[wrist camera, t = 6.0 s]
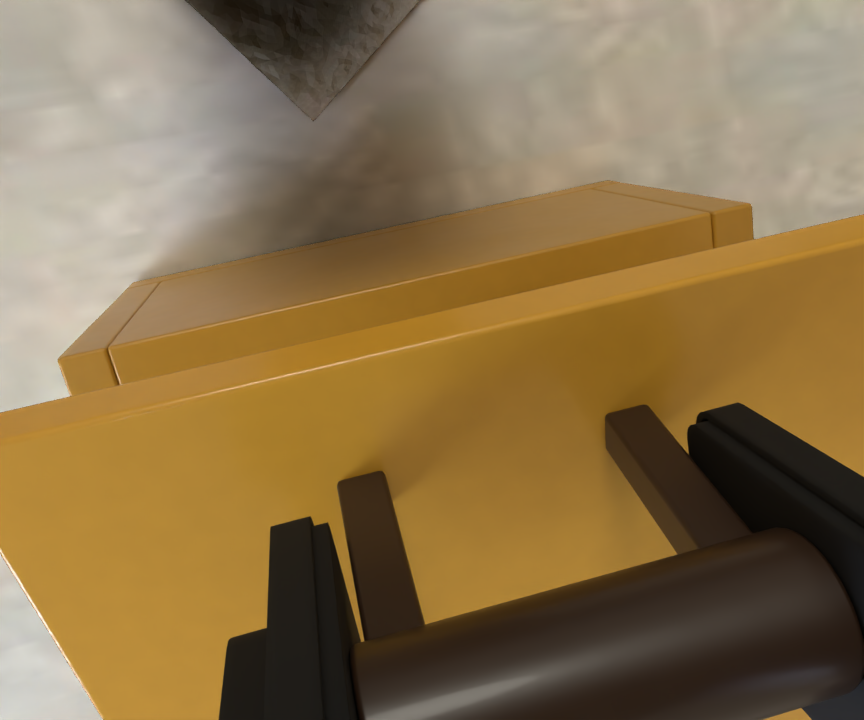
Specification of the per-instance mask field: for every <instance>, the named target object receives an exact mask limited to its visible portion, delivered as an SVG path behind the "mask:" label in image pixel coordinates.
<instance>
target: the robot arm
mask: <svg viewBox="0 0 864 720" xmlns="http://www.w3.org/2000/svg"><path fill="white" fill-rule="evenodd" d="M687 441H688V451H689V456H690V457H691V458H692V460H693V461H694V462H695V463H696V464H697V466H698V467H699V468H700V469H701V471H702V472H703V473H704V474H705V475H706V477H707V478H708V479H709V480H710V482H711V483H712V484H713V485H714V486H715V488H716V489H717V490H718V491H719V493H720V494H721V495H722V496H723V497H724V499H725V500H726V501H727V502H728V503H729V505H730V506H731V507H732V508H733V510H734V511H735V512H736V513H737V514H738V516H739V517H740V518H741V519H742V521H743V522H744V523H745V524H746V525H747V527H748V528H749V529H750V530H751V532H752V533H757V532H760V531H764V530H768V529H771V528H776V527H777V528H786V529H790V530H793V531H795V532H797V533H799V534H801V535H802V536H803V537H805V538H806V539H807V540H809V541H810V542H811V543H812V544H813V545H814V546H815V547H816V548H817V549H818V550H819V551H820V552H821V553H822V554H823V556H824V557H825V558H826V559H827V561H828V562H829V563H830V565H831V566H832V568H833V569H834V571H835V572H836V574H837V575H838V577H839V578H840V580H841V582H842V584H843V586H844V587H845V589H846V591H847V593H848V596H849V598H850V600H851V602H852V604H853V607H854V609H855V612H856V615H857V618H858V621H859V624H860V627H861V631H862V635H863V641H864V477H863V476H861V475H860V474H858V473H856V472H855V471H853V470H851V469H850V468H848V467H846V466H845V465H843V464H841V463H840V462H838V461H836V460H835V459H833V458H831V457H830V456H828V455H826V454H825V453H823V452H821V451H820V450H818V449H816V448H815V447H813V446H811V445H810V444H808V443H807V442H805V441H803V440H802V439H800V438H798V437H797V436H795V435H793V434H792V433H790V432H788V431H787V430H785V429H783V428H782V427H780V426H778V425H777V424H775V423H773V422H772V421H770V420H768V419H767V418H765V417H763V416H762V415H760V414H758V413H757V412H755V411H753V410H752V409H750V408H748V407H747V406H745V405H743V404H741V403H734V404H730V405H726V406H722V407H718V408H715V409H711V410H707V411H703V412H700V413H699V414H698V416H697V419H696V424H693V425H690V426H689V427H688V431H687ZM360 642H361V639H360V636H359V632H358V628H357V625H356V621H355V617H354V614H353V610H352V606H351V603H350V599H349V595H348V592H347V588H346V584H345V580H344V577H343V573H342V569H341V566H340V562H339V558H338V555H337V551H336V547H335V544H334V540H333V536H332V533H331V529H330V526H329V523H328V522H327V523H323V524H319V525H315V526H314V523H313V521H312V518H311V516H309V517H305V518H301V519H297V520H293V521H290V522H286V523H282V524H278V525H275V526H271V528H270V549H269V578H268V606H267V628H264V629H261V630H257V631H253V632H250V633H246V634H243V635H239V636H236V637H232V638H230V639H229V640H228V644H227V648H226V657H225V666H224V675H223V684H222V693H221V702H220V711H219V720H359V719H358V713H357V708H356V702H355V696H354V690H353V684H352V677H351V668H350V650H351V647H352V646H353V645H355V644H356V643H360ZM802 709H803V710H804V711H805V713H806V714H807V715H808V716H809V717H810V718H811V719H812V720H864V675H863V678H862V680H861V682H860V683H859V685H858V686H857V687H856V688H855V689H854V690H853V691H852V692H850V693H848V694H845V695H842V696H838V697H835V698H832V699H829V700H825V701H822V702H819V703H816V704H812V705H809V706H806V707H802Z"/></svg>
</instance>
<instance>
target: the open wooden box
mask: <svg viewBox="0 0 864 720" xmlns="http://www.w3.org/2000/svg"><path fill="white" fill-rule="evenodd" d="M749 240H754V237H753V218H752V206H751V204H749V203H744V202H738V201H731V200H725V199H719V198H713V197H707V196H701V195H694V194H688V193H682V192H676V191H670V190H664V189H657V188H651V187H645V186H639V185H633V184H627V183H620V182H616V181H610V180H607V181H602V182H597V183H593V184H588V185H584V186H579V187H574V188H570V189H565V190H560V191H556V192H551V193H546V194H542V195H537V196H532V197H528V198H523V199H519V200H514V201H509V202H505V203H500V204H495V205H491V206H486V207H481V208H477V209H472V210H467V211H463V212H458V213H453V214H449V215H444V216H440V217H435V218H430V219H426V220H421V221H416V222H412V223H407V224H402V225H398V226H393V227H388V228H384V229H379V230H374V231H370V232H365V233H361V234H356V235H351V236H347V237H342V238H337V239H333V240H328V241H323V242H319V243H314V244H309V245H305V246H300V247H295V248H291V249H286V250H282V251H277V252H272V253H268V254H263V255H258V256H254V257H249V258H244V259H240V260H235V261H230V262H226V263H221V264H217V265H212V266H207V267H203V268H198V269H193V270H189V271H184V272H179V273H175V274H170V275H165V276H161V277H156V278H151V279H147V280H142V281H138V282H133V283H132V284H131V285H130V286H129V287H128V288H127V290H125V291H124V292H123V293H122V294H121V295H120V296H119V297H118V299H117V300H116V301H115V302H114V303H113V304H112V305H111V306H110V307H109V308H108V309H107V310H106V311H105V312H104V313H103V314H102V315H101V316H100V317H99V318H98V319H97V320H96V321H95V322H94V323H93V324H92V325H91V326H90V327H89V328H88V329H87V330H86V331H85V332H84V333H83V334H82V335H81V336H80V337H79V338H78V339H77V340H76V341H75V342H74V343H73V344H72V345H71V346H70V347H69V348H68V349H67V350H66V351H65V352H64V353H63V354H62V355H61V356H60V357H59V358H58V364H59V366H60V369H61V372H62V375H63V377H64V380H65V383H66V386H67V389H68V391H69V394H70V396H75V395H79V394H83V393H88V392H92V391H96V390H101V389H105V388H109V387H114V386H118V385H123V384H127V383H131V382H136V381H140V380H144V379H149V378H153V377H157V376H162V375H166V374H170V373H175V372H179V371H183V370H188V369H192V368H197V367H201V366H205V365H210V364H214V363H218V362H223V361H227V360H231V359H236V358H240V357H244V356H249V355H253V354H257V353H262V352H266V351H270V350H275V349H279V348H284V347H288V346H292V345H297V344H301V343H305V342H310V341H314V340H318V339H323V338H327V337H331V336H336V335H340V334H344V333H349V332H353V331H358V330H362V329H366V328H371V327H375V326H379V325H384V324H388V323H392V322H397V321H401V320H405V319H410V318H414V317H418V316H423V315H427V314H432V313H436V312H440V311H445V310H449V309H453V308H458V307H462V306H466V305H471V304H475V303H479V302H484V301H488V300H492V299H497V298H501V297H506V296H510V295H514V294H519V293H523V292H527V291H532V290H536V289H540V288H545V287H549V286H553V285H558V284H562V283H566V282H571V281H575V280H580V279H584V278H588V277H593V276H597V275H601V274H606V273H610V272H614V271H619V270H623V269H627V268H632V267H636V266H640V265H645V264H649V263H654V262H658V261H662V260H667V259H671V258H675V257H680V256H684V255H688V254H693V253H697V252H701V251H706V250H710V249H714V248H719V247H723V246H728V245H732V244H736V243H741V242H745V241H749Z"/></svg>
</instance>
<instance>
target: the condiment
mask: <svg viewBox="0 0 864 720" xmlns="http://www.w3.org/2000/svg"><path fill="white" fill-rule="evenodd" d="M185 1H186V2H188V3H189V4H190V5H191V6H192V7H193V8H194V9H195V10H196V11H197V12H199V13H200V14H201V15H202V16H203V17H204V18H205V19H206V20H207V21H208V22H209V23H210V24H211V25H212V26H214V27H215V28H216V29H217V30H218V31H219V32H220V33H221V34H222V35H223V36H224V37H225V38H226V39H227V40H228V41H229V42H230V43H231V44H232V45H233V46H234V47H235V48H236V49H237V50H238V51H239V52H241V53H242V54H243V55H244V56H245V57H246V58H247V59H248V60H249V61H250V62H251V63H252V64H253V65H254V66H255V67H256V68H257V69H258V70H260V71H261V72H262V73H263V74H264V75H265V76H266V77H267V78H268V79H269V80H270V81H271V82H272V83H274V84H275V85H276V86H277V87H278V88H279V89H280V90H281V91H282V92H283V93H284V94H285V95H286V96H287V97H288V98H289V99H290V100H291V101H292V102H294V103H295V104H296V105H297V106H298V107H299V108H300V109H301V110H302V111H303V112H304V113H305V114H306V115H307V116H308V117H309V118H310V119H311V120H312V121H314V120H315V119H316V118H317V117H318V116H319V115H320V113H321V112H322V111H323V110H324V109H325V108H326V107H327V106H328V104H329V103H330V102H331V101H332V99H333V98H334V97H335V96H336V95H337V94H338V93H339V92H340V90H341V89H342V88H343V87H344V86H345V85H346V84H347V82H348V81H349V80H350V79H351V78H352V77H353V76H354V74H355V73H356V72H357V71H358V70H359V69H360V68H361V66H362V65H363V64H364V63H365V62H366V61H367V60H368V58H369V57H370V56H371V55H372V54H373V53H374V52H375V51H376V50H377V49H378V47H379V46H380V45H381V44H382V43H383V41H384V40H385V39H386V38H387V37H388V35H389V34H390V33H391V32H392V31H393V30H394V29H395V28H396V27H397V25H398V24H399V23H400V22H401V21H402V20H403V19H404V17H405V16H406V15H407V14H408V13H409V12H410V11H411V9H412V8H413V7H414V6H415V5H416V4H417V3H418V1H419V0H185Z"/></svg>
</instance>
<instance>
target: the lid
mask: <svg viewBox="0 0 864 720" xmlns="http://www.w3.org/2000/svg"><path fill="white" fill-rule="evenodd" d="M734 403H741V404H743V405H745V406H747V407H748V408H750V409H752V410H753V411H755V412H757V413H758V414H760V415H762V416H763V417H765V418H767V419H768V420H770V421H772V422H773V423H775V424H777V425H778V426H780V427H782V428H783V429H785V430H787V431H788V432H790V433H792V434H793V435H795V436H797V437H798V438H800V439H802V440H803V441H805V442H807V443H808V444H810V445H811V446H813V447H815V448H816V449H818V450H820V451H821V452H823V453H825V454H826V455H828V456H830V457H831V458H833V459H835V460H836V461H838V462H840V463H841V464H843V465H845V466H846V467H848V468H850V469H851V470H853V471H855V472H856V473H858V474H860V475H861V476H863V477H864V214H862V215H858V216H854V217H849V218H845V219H841V220H836V221H832V222H828V223H823V224H819V225H815V226H810V227H806V228H802V229H797V230H793V231H788V232H784V233H780V234H775V235H771V236H767V237H762V238H758V239H754V240H749V241H745V242H741V243H736V244H732V245H728V246H723V247H719V248H714V249H710V250H706V251H701V252H697V253H693V254H688V255H684V256H680V257H675V258H671V259H667V260H662V261H658V262H654V263H649V264H645V265H640V266H636V267H632V268H627V269H623V270H619V271H614V272H610V273H606V274H601V275H597V276H593V277H588V278H584V279H580V280H575V281H571V282H566V283H562V284H558V285H553V286H549V287H545V288H540V289H536V290H532V291H527V292H523V293H519V294H514V295H510V296H506V297H501V298H497V299H492V300H488V301H484V302H479V303H475V304H471V305H466V306H462V307H458V308H453V309H449V310H445V311H440V312H436V313H432V314H427V315H423V316H418V317H414V318H410V319H405V320H401V321H397V322H392V323H388V324H384V325H379V326H375V327H371V328H366V329H362V330H358V331H353V332H349V333H344V334H340V335H336V336H331V337H327V338H323V339H318V340H314V341H310V342H305V343H301V344H297V345H292V346H288V347H284V348H279V349H275V350H270V351H266V352H262V353H257V354H253V355H249V356H244V357H240V358H236V359H231V360H227V361H223V362H218V363H214V364H210V365H205V366H201V367H197V368H192V369H188V370H183V371H179V372H175V373H170V374H166V375H162V376H157V377H153V378H149V379H144V380H140V381H136V382H131V383H127V384H123V385H118V386H114V387H109V388H105V389H101V390H96V391H92V392H88V393H83V394H79V395H75V396H70V397H66V398H62V399H57V400H53V401H49V402H44V403H40V404H35V405H31V406H27V407H22V408H18V409H14V410H9V411H5V412H1V413H0V554H1V556H2V558H3V559H4V561H5V562H6V564H7V566H8V567H9V569H10V571H11V572H12V574H13V575H14V577H15V579H16V580H17V582H18V583H19V585H20V587H21V588H22V590H23V592H24V593H25V595H26V596H27V598H28V600H29V601H30V603H31V604H32V606H33V608H34V609H35V611H36V613H37V614H38V616H39V617H40V619H41V621H42V622H43V624H44V625H45V627H46V629H47V630H48V632H49V634H50V635H51V637H52V638H53V640H54V642H55V643H56V645H57V646H58V648H59V650H60V651H61V653H62V654H63V656H64V658H65V659H66V661H67V663H68V664H69V666H70V667H71V669H72V671H73V672H74V674H75V675H76V677H77V679H78V680H79V682H80V684H81V685H82V687H83V688H84V690H85V692H86V693H87V695H88V696H89V698H90V700H91V701H92V703H93V705H94V706H95V708H96V709H97V711H98V713H99V714H100V716H101V717H102V719H103V720H219V711H220V702H221V693H222V684H223V675H224V666H225V657H226V648H227V644H228V640H229V639H230V638H232V637H236V636H239V635H243V634H246V633H250V632H253V631H257V630H261V629H264V628H267V606H268V578H269V549H270V528H271V526H275V525H278V524H282V523H286V522H290V521H293V520H297V519H301V518H305V517H309V516H311V518H312V521H313V523H314V526H315V525H319V524H323V523H327V522H328V523H329V526H330V529H331V533H332V536H333V540H334V544H335V547H336V551H337V555H338V558H339V562H340V566H341V569H342V573H343V577H344V580H345V584H346V588H347V592H348V595H349V599H350V603H351V606H352V610H353V614H354V617H355V621H356V625H357V628H358V632H359V636H360V639H361V642H360V643H356V644H355V645H353V646H352V647H351V650H350V668H351V677H352V684H353V690H354V696H355V702H356V708H357V713H358V719H359V720H812V719H811V718H810V717H809V716H808V715H807V714H806V713H805V711H804V710H803V709H802V707H806V706H809V705H812V704H816V703H819V702H822V701H825V700H829V699H832V698H835V697H838V696H842V695H845V694H848V693H850V692H852V691H853V690H854V689H855V688H856V687H857V686H858V685H859V683H860V682H861V680H862V678H863V675H864V641H863V635H862V631H861V627H860V624H859V621H858V618H857V615H856V612H855V609H854V607H853V604H852V602H851V600H850V598H849V596H848V593H847V591H846V589H845V587H844V586H843V584H842V582H841V580H840V578H839V577H838V575H837V574H836V572H835V571H834V569H833V568H832V566H831V565H830V563H829V562H828V561H827V559H826V558H825V557H824V556H823V554H822V553H821V552H820V551H819V550H818V549H817V548H816V547H815V546H814V545H813V544H812V543H811V542H810V541H809V540H807V539H806V538H805V537H803V536H802V535H801V534H799V533H797V532H795V531H793V530H790V529H786V528H777V527H776V528H771V529H768V530H764V531H760V532H757V533H752V532H751V530H750V529H749V528H748V527H747V525H746V524H745V523H744V522H743V521H742V519H741V518H740V517H739V516H738V514H737V513H736V512H735V511H734V510H733V508H732V507H731V506H730V505H729V503H728V502H727V501H726V500H725V499H724V497H723V496H722V495H721V494H720V493H719V491H718V490H717V489H716V488H715V486H714V485H713V484H712V483H711V482H710V480H709V479H708V478H707V477H706V475H705V474H704V473H703V472H702V471H701V469H700V468H699V467H698V466H697V464H696V463H695V462H694V461H693V460H692V458H691V457H690V456H689V451H688V441H687V431H688V427H689V426H690V425H693V424H696V419H697V416H698V414H699V413H700V412H703V411H707V410H711V409H715V408H718V407H722V406H726V405H730V404H734Z"/></svg>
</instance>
